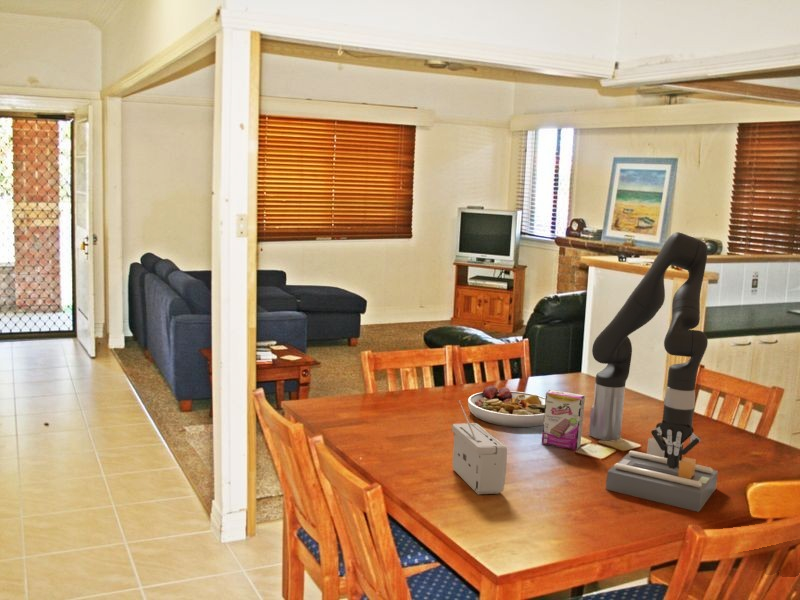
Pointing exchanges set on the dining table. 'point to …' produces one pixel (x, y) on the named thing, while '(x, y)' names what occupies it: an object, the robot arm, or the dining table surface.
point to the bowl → (508, 407)
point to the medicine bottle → (658, 447)
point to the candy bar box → (563, 419)
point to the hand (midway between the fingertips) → (672, 467)
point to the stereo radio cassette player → (479, 458)
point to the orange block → (687, 468)
